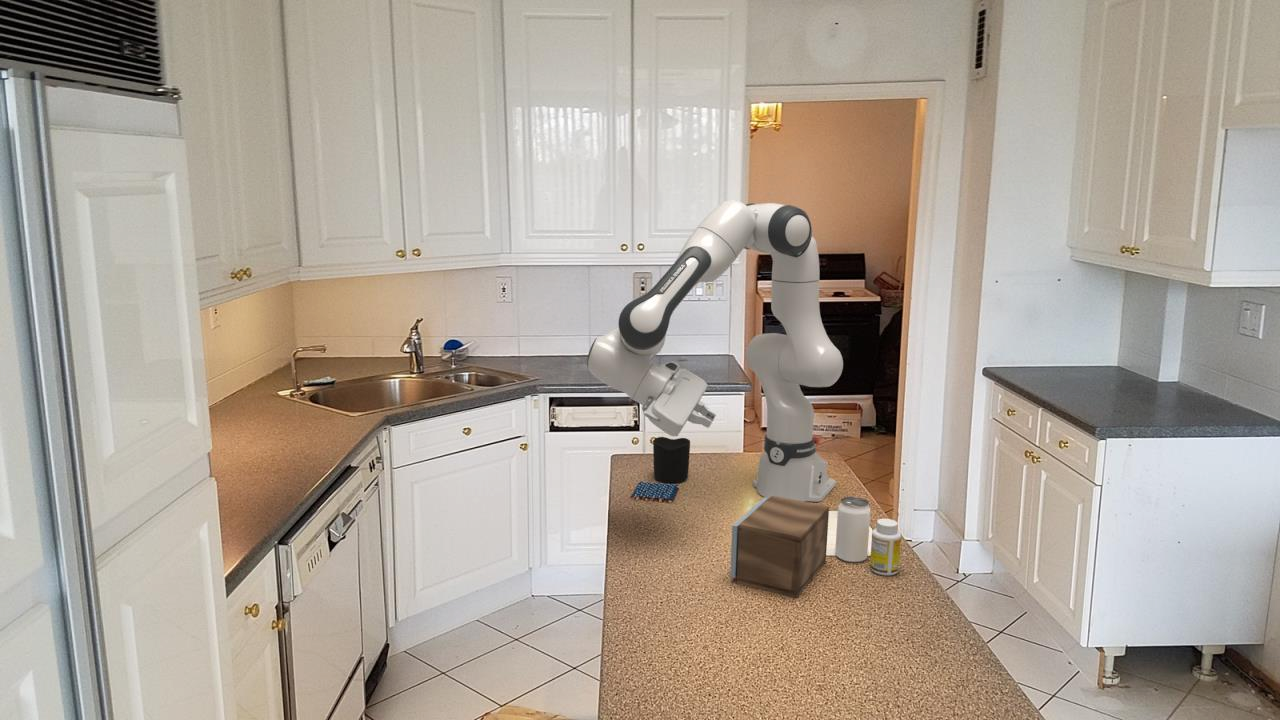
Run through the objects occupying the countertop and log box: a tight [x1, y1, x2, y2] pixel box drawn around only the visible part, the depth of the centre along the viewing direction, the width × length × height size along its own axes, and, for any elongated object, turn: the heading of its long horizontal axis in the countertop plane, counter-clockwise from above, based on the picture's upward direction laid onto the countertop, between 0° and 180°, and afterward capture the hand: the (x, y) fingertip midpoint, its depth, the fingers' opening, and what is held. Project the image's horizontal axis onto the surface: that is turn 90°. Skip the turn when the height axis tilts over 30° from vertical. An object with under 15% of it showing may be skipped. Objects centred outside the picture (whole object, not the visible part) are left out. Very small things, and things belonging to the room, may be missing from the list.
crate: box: [736, 496, 830, 599], centre depth 177 cm, size 18×12×12 cm, turn 152°
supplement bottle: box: [869, 518, 902, 576], centre depth 179 cm, size 6×6×10 cm
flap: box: [729, 496, 769, 579], centre depth 180 cm, size 18×1×10 cm, turn 153°
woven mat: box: [630, 481, 680, 504], centre depth 221 cm, size 10×11×2 cm
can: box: [834, 496, 871, 564], centre depth 186 cm, size 6×6×12 cm
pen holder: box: [652, 436, 691, 485], centre depth 232 cm, size 9×9×10 cm
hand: (712, 421), depth 190 cm, fingers closed
